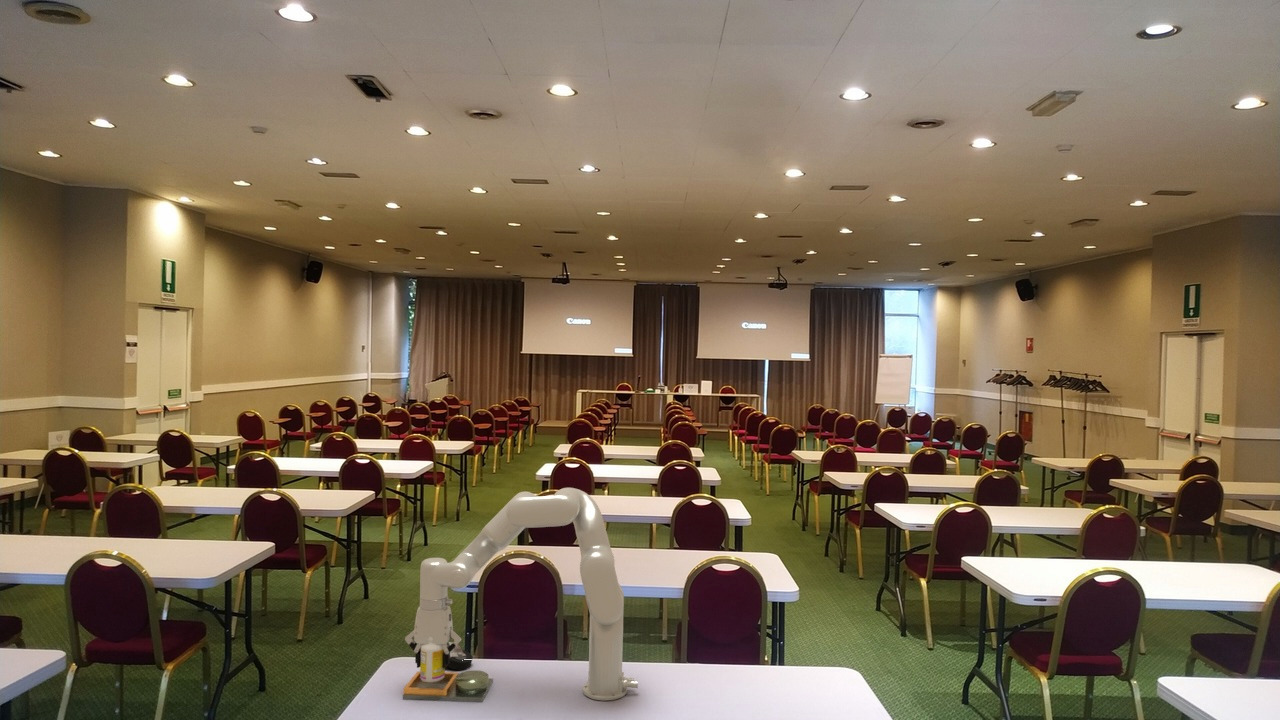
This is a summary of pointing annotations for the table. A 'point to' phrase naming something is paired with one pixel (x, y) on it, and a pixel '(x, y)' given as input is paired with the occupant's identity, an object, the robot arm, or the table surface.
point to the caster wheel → (459, 658)
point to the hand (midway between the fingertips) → (432, 665)
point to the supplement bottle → (431, 662)
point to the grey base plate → (450, 687)
